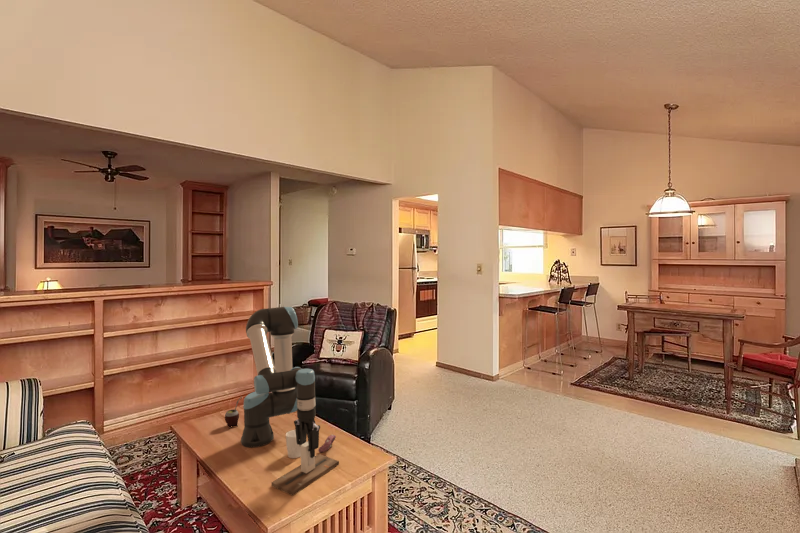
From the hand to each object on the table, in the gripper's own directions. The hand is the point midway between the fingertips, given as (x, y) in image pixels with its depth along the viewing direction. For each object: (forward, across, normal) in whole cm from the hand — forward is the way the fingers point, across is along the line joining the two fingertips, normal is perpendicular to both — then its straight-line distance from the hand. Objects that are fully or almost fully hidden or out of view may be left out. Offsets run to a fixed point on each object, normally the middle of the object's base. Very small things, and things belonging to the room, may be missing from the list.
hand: (308, 463), depth 167 cm
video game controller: (+5, -9, +20) cm, 22 cm away
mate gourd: (+5, -70, +12) cm, 71 cm away
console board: (+5, 0, -1) cm, 5 cm away
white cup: (+5, -17, +8) cm, 19 cm away
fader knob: (+3, 0, 0) cm, 3 cm away
